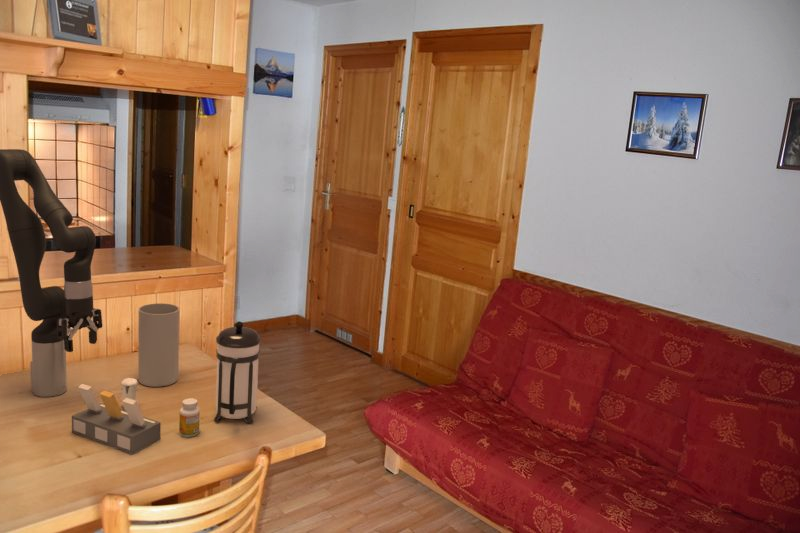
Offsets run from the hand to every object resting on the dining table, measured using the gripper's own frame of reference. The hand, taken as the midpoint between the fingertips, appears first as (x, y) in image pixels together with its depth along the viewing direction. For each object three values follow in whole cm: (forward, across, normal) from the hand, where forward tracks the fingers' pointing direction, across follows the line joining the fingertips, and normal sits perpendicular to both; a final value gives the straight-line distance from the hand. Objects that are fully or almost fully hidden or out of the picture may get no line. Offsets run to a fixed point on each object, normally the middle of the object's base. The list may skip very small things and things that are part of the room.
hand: (81, 347), depth 195 cm
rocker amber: (+13, +10, +23) cm, 29 cm away
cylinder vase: (+18, -25, +6) cm, 32 cm away
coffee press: (+20, -16, +44) cm, 51 cm away
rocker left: (+12, +10, +15) cm, 22 cm away
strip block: (+19, +10, +23) cm, 31 cm away
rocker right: (+13, +11, +31) cm, 35 cm away
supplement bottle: (+19, -1, +38) cm, 43 cm away
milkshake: (+18, -5, +13) cm, 23 cm away
